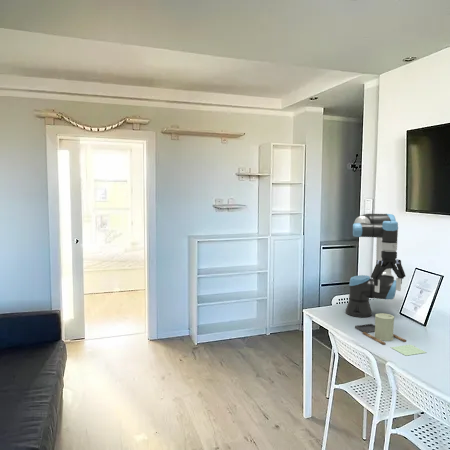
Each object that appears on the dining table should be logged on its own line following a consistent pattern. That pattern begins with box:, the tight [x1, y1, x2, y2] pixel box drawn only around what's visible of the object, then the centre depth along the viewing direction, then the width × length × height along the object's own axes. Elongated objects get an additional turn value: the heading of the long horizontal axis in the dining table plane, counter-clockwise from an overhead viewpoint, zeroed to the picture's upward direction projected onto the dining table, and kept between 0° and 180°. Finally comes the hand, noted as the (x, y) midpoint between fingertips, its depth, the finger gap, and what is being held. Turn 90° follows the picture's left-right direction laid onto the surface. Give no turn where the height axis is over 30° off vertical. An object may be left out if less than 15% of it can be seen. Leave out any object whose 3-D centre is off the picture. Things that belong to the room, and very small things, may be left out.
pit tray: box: [354, 323, 375, 334], centre depth 217 cm, size 8×11×1 cm
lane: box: [361, 332, 407, 346], centre depth 205 cm, size 16×14×1 cm
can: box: [373, 312, 395, 342], centre depth 204 cm, size 9×9×12 cm
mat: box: [390, 344, 428, 357], centre depth 189 cm, size 10×12×1 cm
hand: (387, 291), depth 207 cm, fingers open, 13 cm apart
